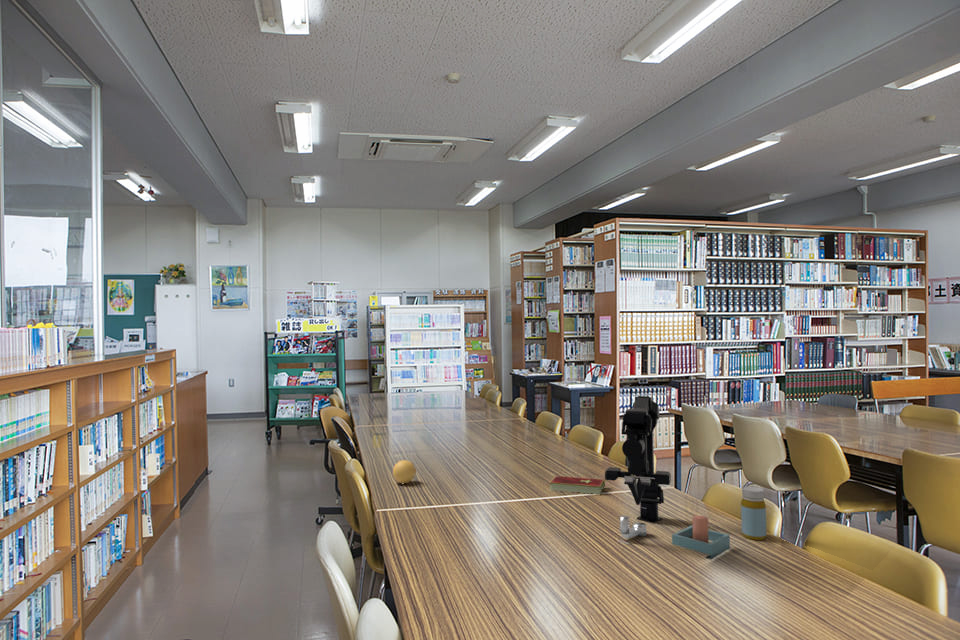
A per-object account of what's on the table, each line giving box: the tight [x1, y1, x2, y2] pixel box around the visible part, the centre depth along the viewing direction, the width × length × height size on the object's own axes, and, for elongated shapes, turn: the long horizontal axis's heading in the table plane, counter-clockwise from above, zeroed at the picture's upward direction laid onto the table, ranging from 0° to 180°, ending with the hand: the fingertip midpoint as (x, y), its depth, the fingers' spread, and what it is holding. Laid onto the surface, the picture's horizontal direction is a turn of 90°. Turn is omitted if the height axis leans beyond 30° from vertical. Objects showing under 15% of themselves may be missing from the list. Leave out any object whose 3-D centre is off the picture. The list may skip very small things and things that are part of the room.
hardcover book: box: [548, 475, 606, 495], centre depth 239 cm, size 12×21×4 cm, turn 70°
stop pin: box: [691, 515, 710, 543], centre depth 172 cm, size 4×4×8 cm
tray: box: [671, 524, 731, 560], centre depth 171 cm, size 12×12×4 cm
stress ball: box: [392, 459, 417, 484], centre depth 251 cm, size 10×10×10 cm
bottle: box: [740, 485, 767, 541], centre depth 181 cm, size 7×7×15 cm
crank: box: [619, 515, 647, 539], centre depth 178 cm, size 11×4×7 cm, turn 131°
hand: (638, 504), depth 172 cm, fingers closed
